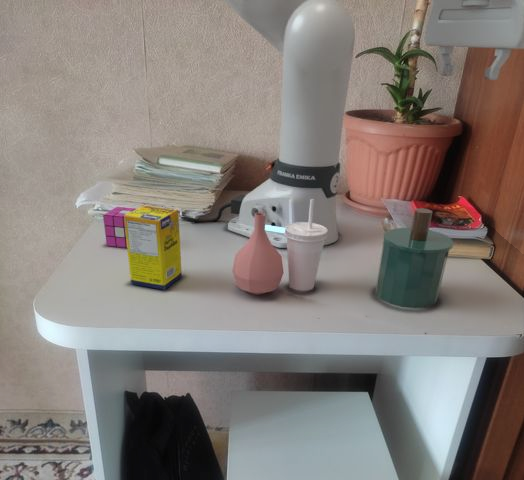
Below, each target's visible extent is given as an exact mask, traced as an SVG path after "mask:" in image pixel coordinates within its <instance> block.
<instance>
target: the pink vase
mask: <svg viewBox="0 0 524 480" xmlns="http://www.w3.org/2000/svg"><path fill="white" fill-rule="evenodd" d="M232 274H233V278H234V282H235V284H236V286H237V287H238V289H240V290H242V291H243V292H244V291H245V292H248V293H250V294H252V295H256V296H258V295H259V296H260V295H264V294H265V293H270V292H273V291H275V290H277V289H278V288H279V286H280V284H281V282H282V279H283V276H284V264H283V255H282V254H281V253H280V252H279V251H278V250H277V248H276V247H275V246H273V245H272V244H271V243H270V240H269V238H268V236H267V234H266V232H265V214H264V213H255V226H254V231H253V233H252V235H251V237H249V239H248V240H247V242H246V243H245V245H244V246H243V247H241V248H240V249H239V250H238V251H237V252H236V254H235V256H234V261H233V265H232Z"/></svg>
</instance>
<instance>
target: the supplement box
mask: <svg viewBox="0 0 524 480" xmlns="http://www.w3.org/2000/svg"><path fill="white" fill-rule="evenodd" d="M135 209H136V208H135ZM179 218H180V215H179V211H178V210H173V209H170V208H166V207H159V206H143V205H142V206H140V207H138V208H137V209H136V210H134V211H131V212H129V213H127V214H125V216H124V222H125V231H126V240H127V248H126V249H127V258H128V266H129V275H130V277H129V278H130V284H131V285H136V286H142V287H146V288H153V289H158V290H163V291H165V290H166V289H168V288H170V286H171V285H173V284H174V283H175V282H177V281H178V280H179V279H180V278H181V277H183V276H182V275H183V273H182V253H181V235H180V234H181V233H180V219H179Z"/></svg>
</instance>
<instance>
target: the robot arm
mask: <svg viewBox="0 0 524 480" xmlns="http://www.w3.org/2000/svg"><path fill="white" fill-rule="evenodd" d="M222 1H223V2H224V3H225V4H226V5H227V6H228V7H229V8H231V9H232V11H234V12H235V13H236V14H237V15H238V16H239V17H240V18H241V19H242V20H243V21H244V22H246V23H247V24H248V25H249V26H250V27H251V28H253V30H255V31H256V32H257V33H258V34H259V35H260V36H261V37H262V38H263V39H265V40H266V41H267V42H268V43H269V44H270V45H271V46H273V48H274V49H276V50H277V52H279V53H280V54H281V55H282V56H283V58H282V59H283V60H282V80H281V81H282V83H281V110H280V129H279V130H280V131H279V133H280V134H279V149H278V151H279V152H278V158H277V159H275V160H272V161H271V162H268V163H267V164H265V166H266V169H265V170H266V171H270V175H269V178H268V179H267V180H265V181H264V182H262V183H261V184H259V185H258V186H257V187H256V188H254V189H253V190H251V191H250V192H248V193H247V194H239V195H238V196H235V197H234V198H232V199H230V202H228V203H225V204H223V205H222V206H221V207H220V208H219V210H218V213H217V216H216V217H213V218H210V219H201V218H196V217H192V216H191V217H190V216H187V217H180V218H181V219H183V220H185V221H189V222H193V223H215V222H217V221H219V220H220V219H221V218H222V214H223V212H224V210H225V209H227V208H230V214H232V215H237V216H235V217H234V218H232V219H231V220H230V221H229V222H228V223H227V230H228V231H230V232H232V233H236V234H239V235H241V236H244V237H247V238H250V237H251V235H252V233H253V231H254V226H255V213H264V214H265V232H266V234H267V236H268V238H269V240H270V243H271V244H272V246H273V247H275V248H280V249H287V237H286V236H285V234H284V233H285V227H286V226H287V225H289V224H291V223H297V222H308V221H309V209H310V199H314V207H313V219H312V223H315V224H319V225H322V226H324V227H325V228H327V230H328V232H327V238H326V239H325V240H324V245H323V246H327V245H330V244H334V243H335V242H336V241H338V239H339V237H340V236H339V231H338V226H337V224H338V223H337V212H336V211H337V207H336V206H337V204H336V201H337V194H338V189H339V186H340V179H341V178H340V176H341V175H340V174H341V173H340V172H341V163H340V162H339V159H340V150H341V141H342V133H343V132H342V131H343V123H344V116H345V109H346V103H347V98H348V90H349V86H350V85H349V84H350V78H351V73H352V72H351V71H352V64H353V57H354V49H355V40H356V30H355V26H354V24H355V23H354V22H353V19H352V16H351V14H350V13H349V11H348V10H347V9H346V7H345V6H344V5H343V4H341V3H340V2H338V1H337V0H222ZM423 40H424V43H425V46H427V47H439V48H438V57H439V61H440V65H441V66H440V67H441V69H440V76H441V77H453V75H454V70H455V64H452V61H451V55H452V54H453V52H454V48H455V47H457V48H484V49H485V48H486V49H488V48H489V49H495V50H494V57H496V58H495V59H494V61H493V62H492V64H491V65H490V67H485V74H484V76H483V79H484V80H488V81H489V80H490V81H496V80H497V79H499V75H500V71H501V68H502V67H503V66H504V65H505V63H506V62H507V60H508V59H509V58H510V55H511V51H512V50H513V49H515V50H516V49H517V50H518V49H519V50H524V0H433V1H432V5H431V8H430V11H429V14H428V18H427V22H426V26H425V31H424V36H423ZM497 81H498V80H497ZM267 166H268V167H267Z"/></svg>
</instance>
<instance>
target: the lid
mask: <svg viewBox="0 0 524 480" xmlns="http://www.w3.org/2000/svg"><path fill="white" fill-rule="evenodd" d="M432 216H433V210H431V209H428V208H420V207H419V208H416V209H414V213H413V217H412V224H411V227H396V228H391V229H387V230H386V231H385V232H384V233H383V237H382V238H383V241H385V242H386V243H388V244H389V245H391V246H393V247H396V248H398V249H402V250H406V251H410V252H417V253H442V252H446V251H449V252H450V250H452V249H453V248H454V247H453V246H454V241H453V239H452V238H451V237H449V236H447V235H445V234H444V233H441V232H439V231H435V230H432V229H431V230H430V225H431V220H432Z"/></svg>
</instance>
